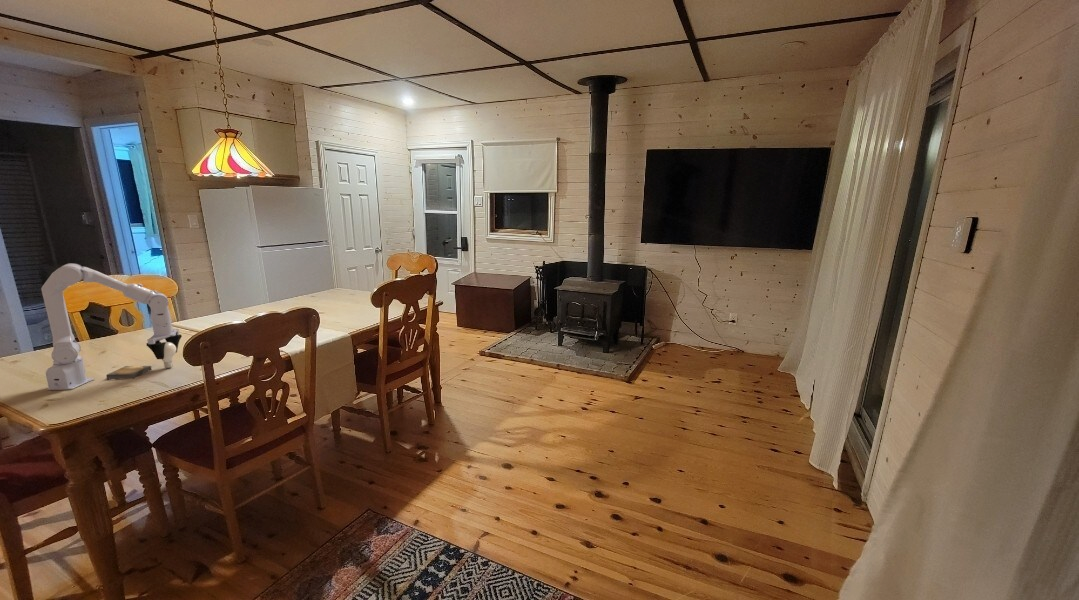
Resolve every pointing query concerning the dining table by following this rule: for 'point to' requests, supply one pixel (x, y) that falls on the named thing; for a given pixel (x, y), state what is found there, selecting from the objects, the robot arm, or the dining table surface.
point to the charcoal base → (128, 372)
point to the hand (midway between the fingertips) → (167, 355)
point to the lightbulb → (168, 354)
